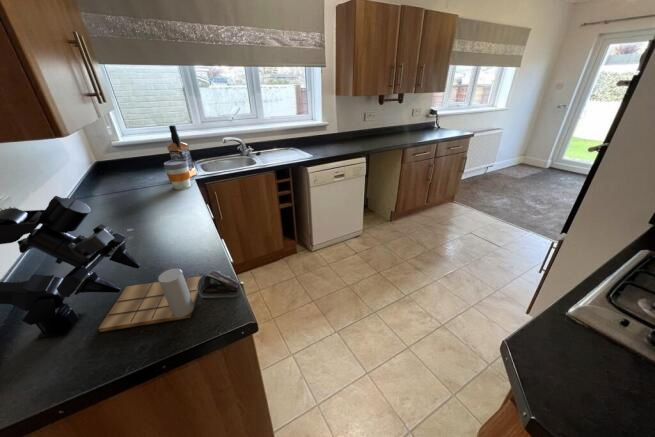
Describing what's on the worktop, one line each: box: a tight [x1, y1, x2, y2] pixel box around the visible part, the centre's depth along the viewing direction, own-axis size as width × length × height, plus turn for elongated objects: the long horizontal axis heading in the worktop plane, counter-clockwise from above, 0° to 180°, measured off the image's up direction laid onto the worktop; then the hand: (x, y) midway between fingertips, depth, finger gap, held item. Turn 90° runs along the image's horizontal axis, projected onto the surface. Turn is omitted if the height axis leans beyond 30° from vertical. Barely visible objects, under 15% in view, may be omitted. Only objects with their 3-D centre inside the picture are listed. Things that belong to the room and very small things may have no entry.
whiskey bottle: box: [166, 124, 198, 178], centre depth 171 cm, size 10×10×32 cm
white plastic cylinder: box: [157, 268, 195, 317], centre depth 70 cm, size 5×5×12 cm
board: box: [97, 275, 201, 333], centre depth 77 cm, size 22×16×1 cm
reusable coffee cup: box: [163, 159, 192, 190], centre depth 157 cm, size 13×12×15 cm
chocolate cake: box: [197, 269, 240, 299], centre depth 81 cm, size 10×7×12 cm
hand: (130, 278), depth 69 cm, fingers open, 9 cm apart
